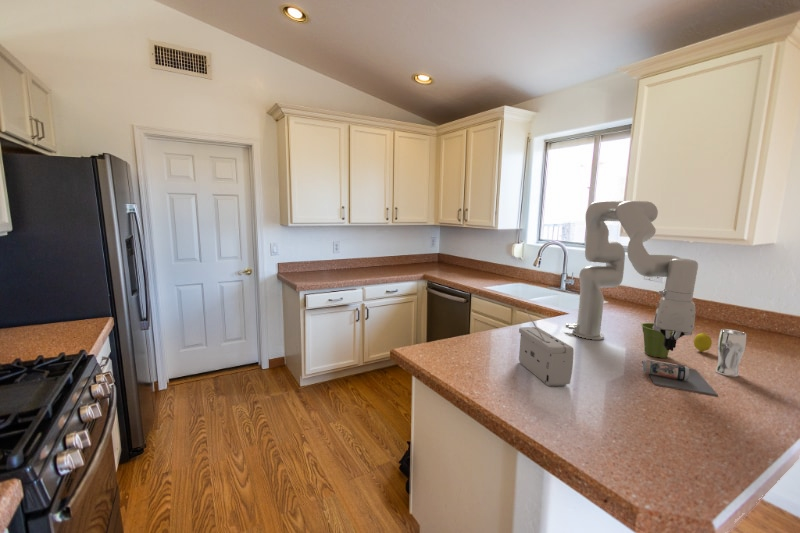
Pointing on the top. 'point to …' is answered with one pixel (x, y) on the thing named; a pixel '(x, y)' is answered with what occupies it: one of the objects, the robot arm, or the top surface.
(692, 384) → the rubber mat
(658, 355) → the plant pot
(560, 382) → the stereo radio cassette player
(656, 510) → the top surface
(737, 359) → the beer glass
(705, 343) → the lemon
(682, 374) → the beer can
